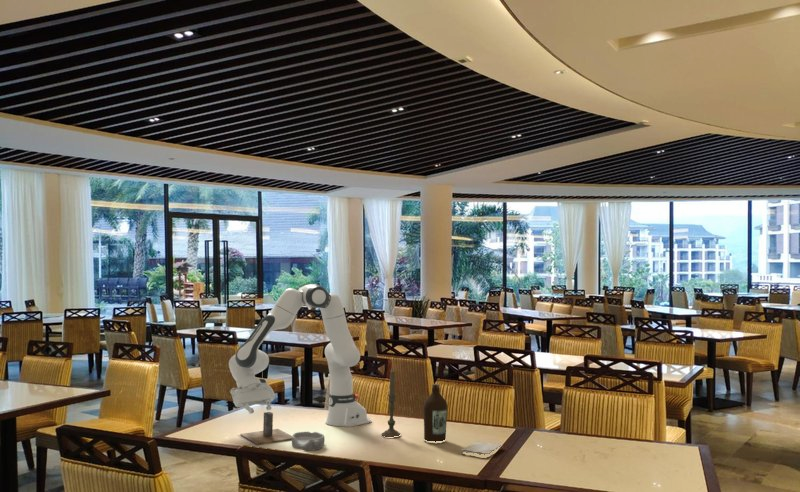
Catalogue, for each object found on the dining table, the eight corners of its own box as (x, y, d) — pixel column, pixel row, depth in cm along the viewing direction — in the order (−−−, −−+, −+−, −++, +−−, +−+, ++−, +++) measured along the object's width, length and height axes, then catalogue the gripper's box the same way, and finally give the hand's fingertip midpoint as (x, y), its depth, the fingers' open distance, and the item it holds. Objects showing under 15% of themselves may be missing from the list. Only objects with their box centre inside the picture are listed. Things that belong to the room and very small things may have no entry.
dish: (322, 451, 272) (322, 439, 272) (288, 451, 272) (288, 438, 272) (326, 442, 287) (326, 430, 287) (294, 441, 287) (295, 430, 287)
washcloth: (459, 456, 271) (460, 448, 271) (477, 446, 287) (477, 438, 287) (486, 461, 265) (487, 453, 265) (502, 450, 281) (503, 443, 281)
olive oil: (418, 439, 293) (419, 383, 294) (439, 437, 298) (440, 381, 299) (430, 445, 284) (431, 387, 284) (451, 443, 288) (452, 385, 289)
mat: (279, 431, 303) (279, 429, 303) (298, 441, 287) (298, 439, 287) (237, 436, 292) (237, 435, 292) (255, 447, 275) (255, 446, 275)
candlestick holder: (402, 433, 303) (403, 368, 304) (400, 438, 294) (401, 371, 295) (382, 432, 304) (383, 367, 305) (379, 437, 295) (381, 370, 296)
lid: (277, 430, 302) (278, 406, 302) (295, 439, 287) (296, 414, 287) (240, 435, 291) (241, 411, 292) (256, 445, 277) (257, 419, 277)
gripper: (231, 384, 291) (244, 410, 284) (269, 379, 306) (282, 403, 299) (225, 393, 293) (237, 419, 287) (263, 387, 309) (275, 411, 302)
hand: (260, 411), depth 293 cm, fingers open, 8 cm apart
